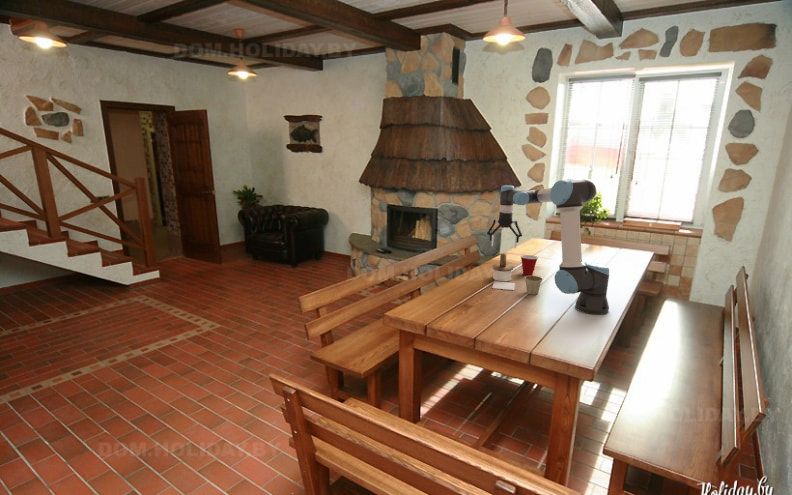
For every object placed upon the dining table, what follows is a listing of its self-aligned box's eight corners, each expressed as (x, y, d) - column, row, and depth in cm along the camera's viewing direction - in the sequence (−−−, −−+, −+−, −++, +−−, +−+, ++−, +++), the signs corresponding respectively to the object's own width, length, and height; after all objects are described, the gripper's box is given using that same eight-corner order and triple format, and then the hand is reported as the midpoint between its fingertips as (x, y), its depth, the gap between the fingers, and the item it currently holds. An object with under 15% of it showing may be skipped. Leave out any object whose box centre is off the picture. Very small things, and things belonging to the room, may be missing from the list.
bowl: (511, 277, 258) (511, 266, 256) (510, 282, 248) (511, 271, 247) (494, 275, 261) (494, 265, 259) (492, 280, 251) (493, 270, 250)
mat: (515, 284, 245) (515, 283, 245) (514, 290, 234) (514, 289, 234) (494, 282, 248) (494, 281, 248) (492, 288, 237) (492, 287, 237)
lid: (513, 266, 257) (514, 252, 254) (512, 272, 246) (513, 257, 243) (493, 265, 260) (494, 250, 258) (491, 270, 249) (492, 255, 247)
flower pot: (544, 292, 230) (545, 278, 228) (536, 297, 224) (538, 282, 221) (528, 289, 236) (529, 274, 234) (520, 293, 230) (521, 278, 228)
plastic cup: (539, 273, 264) (540, 255, 262) (534, 278, 256) (535, 259, 253) (522, 270, 270) (523, 253, 267) (516, 275, 262) (518, 256, 259)
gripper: (528, 212, 244) (525, 247, 250) (485, 209, 252) (483, 243, 257) (528, 214, 237) (525, 250, 243) (483, 211, 245) (481, 246, 250)
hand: (503, 246), depth 250 cm, fingers open, 13 cm apart
